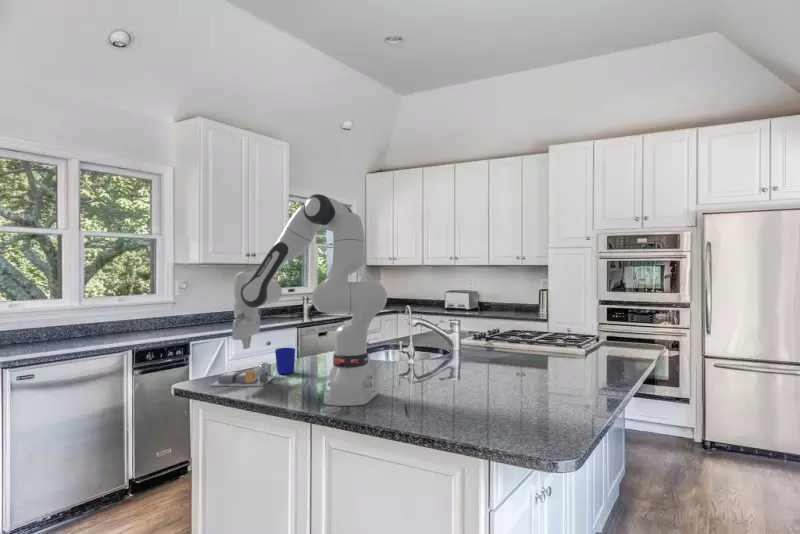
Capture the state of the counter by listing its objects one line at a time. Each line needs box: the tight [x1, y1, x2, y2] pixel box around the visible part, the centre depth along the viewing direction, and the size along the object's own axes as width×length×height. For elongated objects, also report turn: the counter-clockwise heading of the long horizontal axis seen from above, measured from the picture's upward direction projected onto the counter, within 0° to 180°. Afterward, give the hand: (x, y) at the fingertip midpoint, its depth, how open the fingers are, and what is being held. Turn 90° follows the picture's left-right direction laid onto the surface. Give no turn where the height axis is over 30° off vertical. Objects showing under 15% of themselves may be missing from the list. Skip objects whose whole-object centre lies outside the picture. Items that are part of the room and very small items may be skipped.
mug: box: [274, 347, 296, 375], centre depth 216 cm, size 8×12×10 cm
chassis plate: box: [210, 371, 275, 387], centre depth 199 cm, size 14×20×4 cm
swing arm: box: [244, 362, 269, 382], centre depth 190 cm, size 3×19×4 cm, turn 179°
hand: (246, 348), depth 199 cm, fingers closed
